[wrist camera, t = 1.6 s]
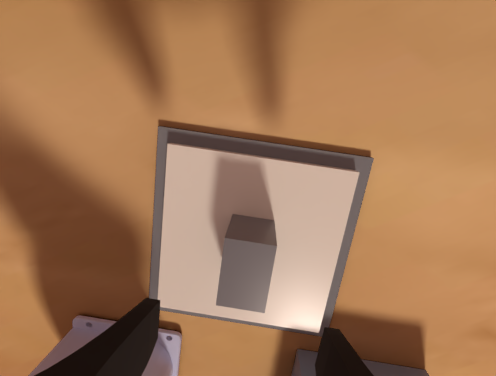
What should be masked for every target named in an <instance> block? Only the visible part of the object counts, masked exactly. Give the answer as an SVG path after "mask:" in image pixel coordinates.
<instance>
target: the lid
mask: <svg viewBox="0 0 496 376" xmlns="http://www.w3.org/2000/svg"><path fill="white" fill-rule="evenodd" d="M359 173H360V172H358V171H356V170H350V169H344V168H337V167H330V166H323V165H317V164H310V163H303V162H297V161H290V160H283V159H277V158H270V157H263V156H256V155H250V154H243V153H236V152H230V151H223V150H216V149H210V148H203V147H196V146H190V145H183V144H176V143H168V144H167V159H166V174H165V190H164V206H163V221H162V237H161V253H160V268H159V284H158V300H160V307H163V308H169V309H175V310H181V311H188V312H194V313H200V314H206V315H212V316H218V317H224V318H230V319H237V320H243V321H249V322H255V323H261V324H267V325H273V326H279V327H286V328H292V329H298V330H304V331H310V332H316V333H319V331H320V327H321V323H322V319H323V315H324V311H325V307H326V303H327V299H328V295H329V291H330V287H331V283H332V279H333V275H334V271H335V267H336V264H337V260H338V256H339V252H340V248H341V244H342V240H343V236H344V232H345V228H346V224H347V220H348V216H349V212H350V208H351V204H352V200H353V196H354V192H355V188H356V184H357V181H358V177H359Z"/></svg>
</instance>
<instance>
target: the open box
mask: <svg viewBox="0 0 496 376" xmlns="http://www.w3.org/2000/svg"><path fill="white" fill-rule="evenodd" d="M317 355H318V352H314V351H308V350H301V349H297V353H296V357H295V361H294V365H293V370H292V374H291V376H316V371H315V362H316V358H317ZM361 360H362V359H361ZM362 361H363V362H364V364H365V365H366V366H367V368H368V369H369V370H370V371H371V373H372V374H373V375H374V376H429V375H428V373H427V371H426V370H423V369H417V368H411V367H405V366H399V365H392V364H386V363H380V362H374V361H368V360H362Z"/></svg>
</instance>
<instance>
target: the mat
mask: <svg viewBox="0 0 496 376" xmlns="http://www.w3.org/2000/svg"><path fill="white" fill-rule="evenodd" d="M168 143H176V144H183V145H190V146H196V147H203V148H210V149H216V150H223V151H230V152H236V153H243V154H250V155H256V156H263V157H270V158H277V159H283V160H290V161H297V162H303V163H310V164H317V165H323V166H330V167H337V168H344V169H350V170H356V171H358V172H360V173H359V177H358V181H357V184H356V188H355V192H354V196H353V200H352V204H351V208H350V212H349V216H348V220H347V224H346V228H345V232H344V236H343V240H342V244H341V248H340V252H339V256H338V260H337V264H336V267H335V271H334V275H333V279H332V283H331V287H330V291H329V295H328V299H327V303H326V307H325V311H324V315H323V319H322V323H321V327H320V331H319V333H316V332H310V331H304V330H298V329H292V328H286V327H279V326H273V325H267V324H261V323H255V322H249V321H243V320H237V319H230V318H224V317H218V316H212V315H206V314H200V313H194V312H188V311H181V310H175V309H169V308H163V307H160V310H162V311H169V312H175V313H181V314H187V315H193V316H199V317H205V318H211V319H218V320H224V321H230V322H236V323H242V324H248V325H254V326H260V327H266V328H273V329H279V330H285V331H291V332H297V333H303V334H309V335H315V336H321V337H322V335H323V331H324V328H325V327H328V328H329V326H330V322H331V318H332V315H333V311H334V307H335V303H336V299H337V296H338V292H339V288H340V284H341V280H342V277H343V273H344V269H345V265H346V261H347V258H348V254H349V250H350V246H351V242H352V239H353V235H354V231H355V227H356V223H357V220H358V216H359V212H360V208H361V204H362V201H363V197H364V193H365V189H366V185H367V182H368V178H369V174H370V170H371V166H372V163H373V159H374V158H372V157H365V156H358V155H352V154H345V153H338V152H331V151H325V150H318V149H311V148H304V147H298V146H291V145H284V144H277V143H271V142H264V141H257V140H250V139H244V138H237V137H230V136H223V135H217V134H210V133H203V132H196V131H190V130H183V129H176V128H169V127H162V126H158V141H157V160H156V178H155V197H154V215H153V234H152V252H151V271H150V289H149V298H151V299H157V300H158V284H159V268H160V253H161V237H162V221H163V206H164V190H165V174H166V159H167V144H168Z"/></svg>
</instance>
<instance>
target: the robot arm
mask: <svg viewBox="0 0 496 376" xmlns="http://www.w3.org/2000/svg"><path fill="white" fill-rule="evenodd" d="M159 313H160V300H157V299H151V298H146V299H144V300H143V301H142V302H141V303H139V304H138V305H137V306H136V307H134V308H133V309H132V310H131V311H129V312H128V313H127V314H126V315H124V316H123V317H122V318H121V319H119V320H118V321H111V320H105V319H99V318H93V317H87V316H81V315H78V316H76V317H75V318H74V319H73V322H72V323H73V328H72V329H71V330H70V331H69V332H68V333H67V334H66V335H65V337H64V338H63V339H62V340H61V341H60V342H59V343H58V344H57V345H56V346H55V347H54V348H53V350H52V351H51V352H50V353H49V354H48V355H47V356H46V357H45V358H44V359H43V360H42V361H41V362H40V364H39V365H38V366H37V367H36V368H35V369H34V370H33V371H32V372H31V373H30V374H29V375H28V376H178V373H179V362H180V352H181V341H182V335H181V333H179V332H177V331H172V330H166V329H160V328H159ZM90 323H91V324H90ZM169 336H171V337H169ZM315 371H316V376H374V375H373V374H372V373H371V371H370V370H369V369H368V368H367V366H366V365H365V364H364V362H363V361H362V360H361V359H360V357H359V356H358V354H357V353H356V352H355V350H354V349H353V348H352V346H351V345H350V344H349V342H348V341H347V340H346V338H345V337H344V336H343V334H342V333H341V332H340V330H339V329H334V328H328V327H325V328H324V331H323V335H322V339H321V343H320V347H319V351H318V355H317V358H316V362H315Z"/></svg>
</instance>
